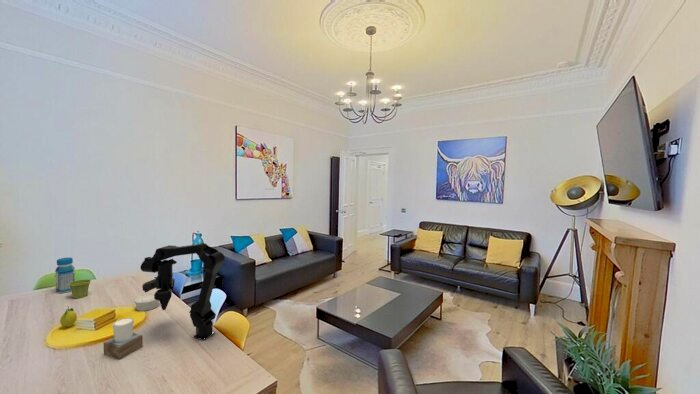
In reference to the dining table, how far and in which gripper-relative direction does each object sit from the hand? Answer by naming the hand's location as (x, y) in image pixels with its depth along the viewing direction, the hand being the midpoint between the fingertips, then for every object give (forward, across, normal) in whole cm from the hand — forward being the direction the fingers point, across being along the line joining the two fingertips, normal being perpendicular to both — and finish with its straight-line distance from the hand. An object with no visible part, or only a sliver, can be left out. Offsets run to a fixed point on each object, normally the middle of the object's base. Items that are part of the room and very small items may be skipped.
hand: (165, 305), depth 129 cm
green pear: (+12, -22, -40) cm, 47 cm away
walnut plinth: (+12, +11, -13) cm, 21 cm away
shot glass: (+7, +11, -13) cm, 18 cm away
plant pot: (+12, -62, -48) cm, 80 cm away
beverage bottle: (+12, -76, -59) cm, 97 cm away
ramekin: (+12, -31, -11) cm, 35 cm away
